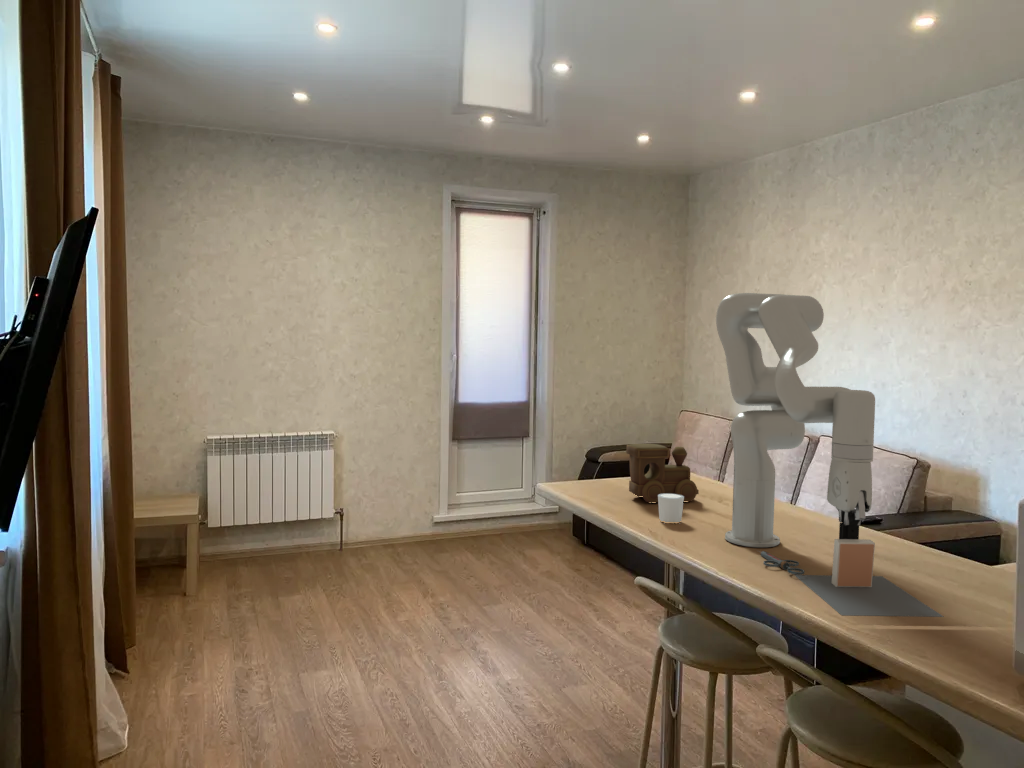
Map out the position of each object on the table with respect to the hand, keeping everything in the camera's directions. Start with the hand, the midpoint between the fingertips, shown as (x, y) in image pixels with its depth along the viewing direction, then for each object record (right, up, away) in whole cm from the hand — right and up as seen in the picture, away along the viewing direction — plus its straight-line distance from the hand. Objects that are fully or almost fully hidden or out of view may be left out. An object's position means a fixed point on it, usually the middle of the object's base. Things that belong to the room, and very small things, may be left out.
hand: (848, 543), depth 148 cm
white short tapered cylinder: (-25, -5, +49) cm, 56 cm away
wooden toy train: (-22, -3, +75) cm, 79 cm away
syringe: (-10, -7, +11) cm, 17 cm away
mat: (0, -9, -7) cm, 11 cm away
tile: (0, -8, -2) cm, 8 cm away
